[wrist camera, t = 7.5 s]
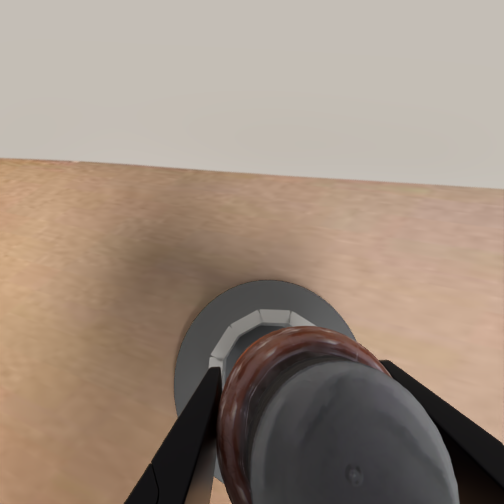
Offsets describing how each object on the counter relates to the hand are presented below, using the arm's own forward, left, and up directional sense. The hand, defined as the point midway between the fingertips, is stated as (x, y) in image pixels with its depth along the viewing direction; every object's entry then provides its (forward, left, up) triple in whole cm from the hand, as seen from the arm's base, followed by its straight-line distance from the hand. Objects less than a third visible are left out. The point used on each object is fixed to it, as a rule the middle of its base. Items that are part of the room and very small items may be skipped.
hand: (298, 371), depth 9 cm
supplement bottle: (-1, -1, -7) cm, 7 cm away
